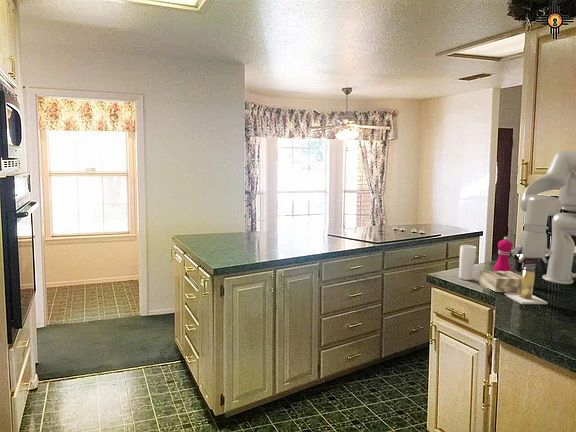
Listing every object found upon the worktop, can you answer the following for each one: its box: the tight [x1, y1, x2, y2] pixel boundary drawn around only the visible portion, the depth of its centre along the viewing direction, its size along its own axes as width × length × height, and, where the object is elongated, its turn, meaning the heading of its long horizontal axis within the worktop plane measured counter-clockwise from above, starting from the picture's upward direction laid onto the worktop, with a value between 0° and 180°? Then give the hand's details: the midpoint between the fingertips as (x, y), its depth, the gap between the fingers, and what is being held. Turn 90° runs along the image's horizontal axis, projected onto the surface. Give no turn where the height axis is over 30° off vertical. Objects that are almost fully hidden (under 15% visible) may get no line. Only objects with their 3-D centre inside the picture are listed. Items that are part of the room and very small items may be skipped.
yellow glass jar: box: [519, 266, 537, 299], centre depth 186 cm, size 4×4×12 cm
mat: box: [503, 293, 549, 305], centre depth 187 cm, size 11×11×1 cm
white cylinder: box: [458, 244, 477, 281], centre depth 211 cm, size 7×7×15 cm
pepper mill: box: [492, 236, 513, 272], centre depth 213 cm, size 7×7×20 cm
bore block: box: [478, 270, 522, 293], centre depth 200 cm, size 14×12×6 cm
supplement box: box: [521, 258, 538, 269], centre depth 241 cm, size 9×5×16 cm, turn 111°
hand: (529, 271), depth 185 cm, fingers open, 9 cm apart
